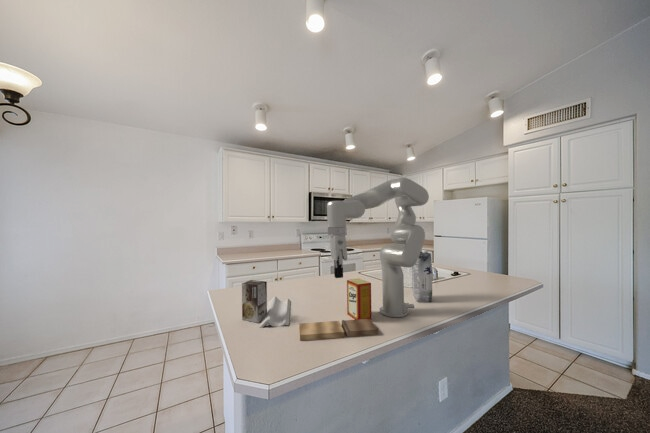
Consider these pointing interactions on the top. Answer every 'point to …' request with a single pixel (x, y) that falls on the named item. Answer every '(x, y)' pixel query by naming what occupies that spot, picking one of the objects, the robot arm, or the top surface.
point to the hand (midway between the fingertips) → (338, 277)
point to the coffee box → (254, 300)
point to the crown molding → (276, 313)
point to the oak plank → (320, 330)
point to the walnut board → (359, 327)
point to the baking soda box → (359, 299)
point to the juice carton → (422, 277)
